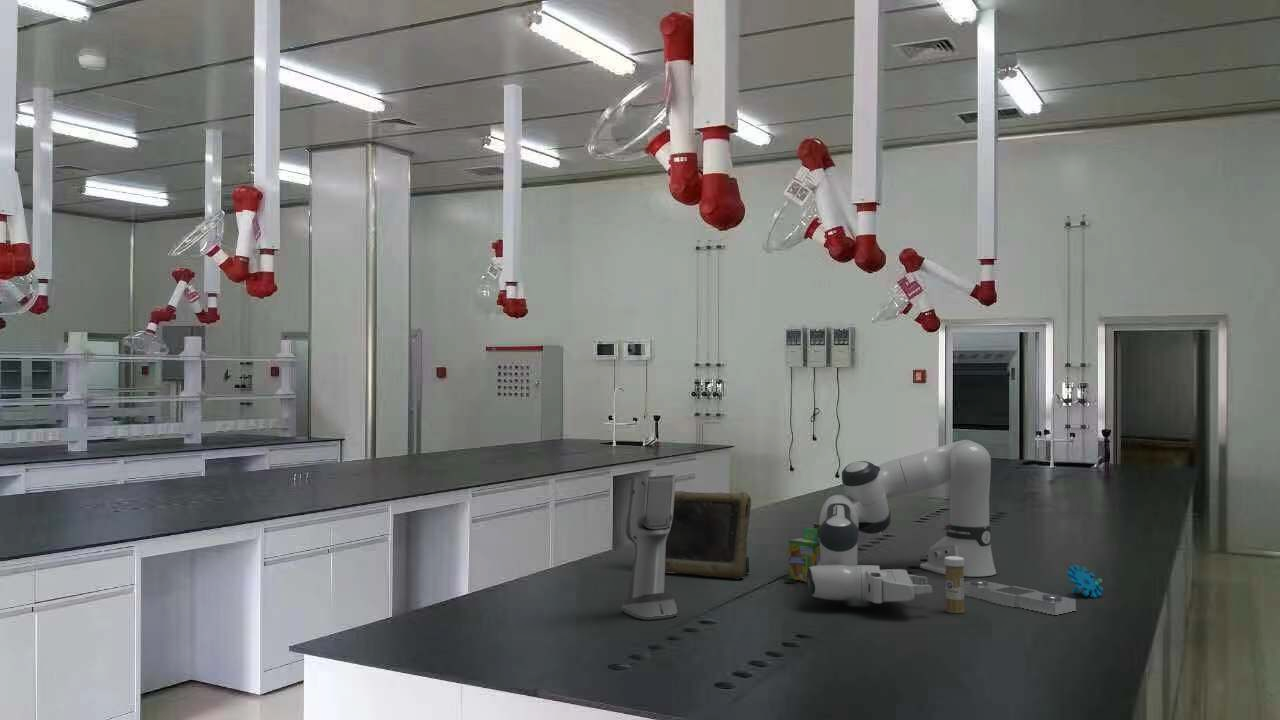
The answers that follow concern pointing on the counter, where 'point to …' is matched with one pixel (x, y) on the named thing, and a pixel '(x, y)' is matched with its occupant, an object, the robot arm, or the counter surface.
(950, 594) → the sprinkles bottle
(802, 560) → the chalk box
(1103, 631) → the counter surface
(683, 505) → the brown frame
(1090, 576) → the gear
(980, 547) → the robot arm
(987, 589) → the grey long flat block
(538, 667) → the counter surface
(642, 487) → the thermal camera
